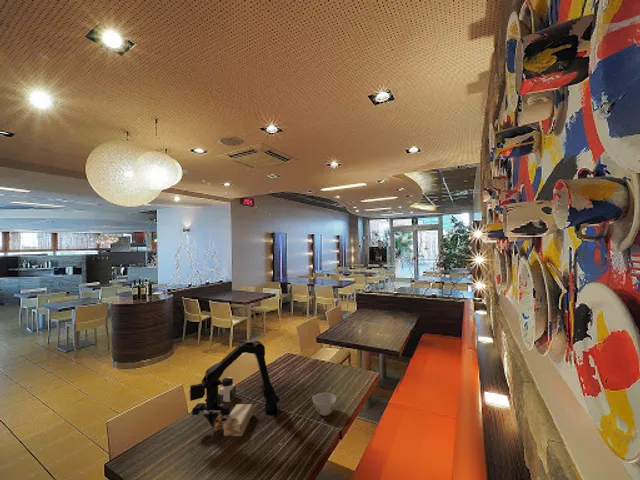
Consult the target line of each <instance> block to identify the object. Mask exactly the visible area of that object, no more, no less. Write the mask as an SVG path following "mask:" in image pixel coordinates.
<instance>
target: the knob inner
mask: <svg viewBox="0 0 640 480" xmlns="http://www.w3.org/2000/svg"><path fill="white" fill-rule="evenodd" d="M231 412H232V411H231ZM231 412H230V413H231ZM229 415H230V414H229ZM229 415H222V414H221V412H220V414H219V415H218V416H217V419H223V418H224V417H227V418H228V416H229Z"/></svg>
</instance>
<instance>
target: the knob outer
mask: <svg viewBox="0 0 640 480" xmlns="http://www.w3.org/2000/svg"><path fill="white" fill-rule="evenodd" d="M225 421H226V420H222V418H216V421H215V425H214V430H217V431H218V430H219V431H220V429H221V428H222V429H224V423H225Z"/></svg>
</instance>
